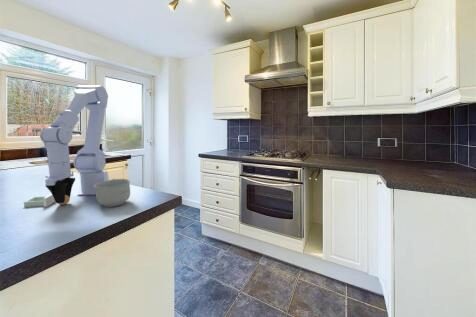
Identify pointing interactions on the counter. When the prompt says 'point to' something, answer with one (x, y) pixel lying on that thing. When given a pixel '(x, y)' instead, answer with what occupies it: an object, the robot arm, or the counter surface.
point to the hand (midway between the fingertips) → (63, 200)
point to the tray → (34, 202)
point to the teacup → (112, 192)
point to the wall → (48, 200)
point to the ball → (65, 200)
